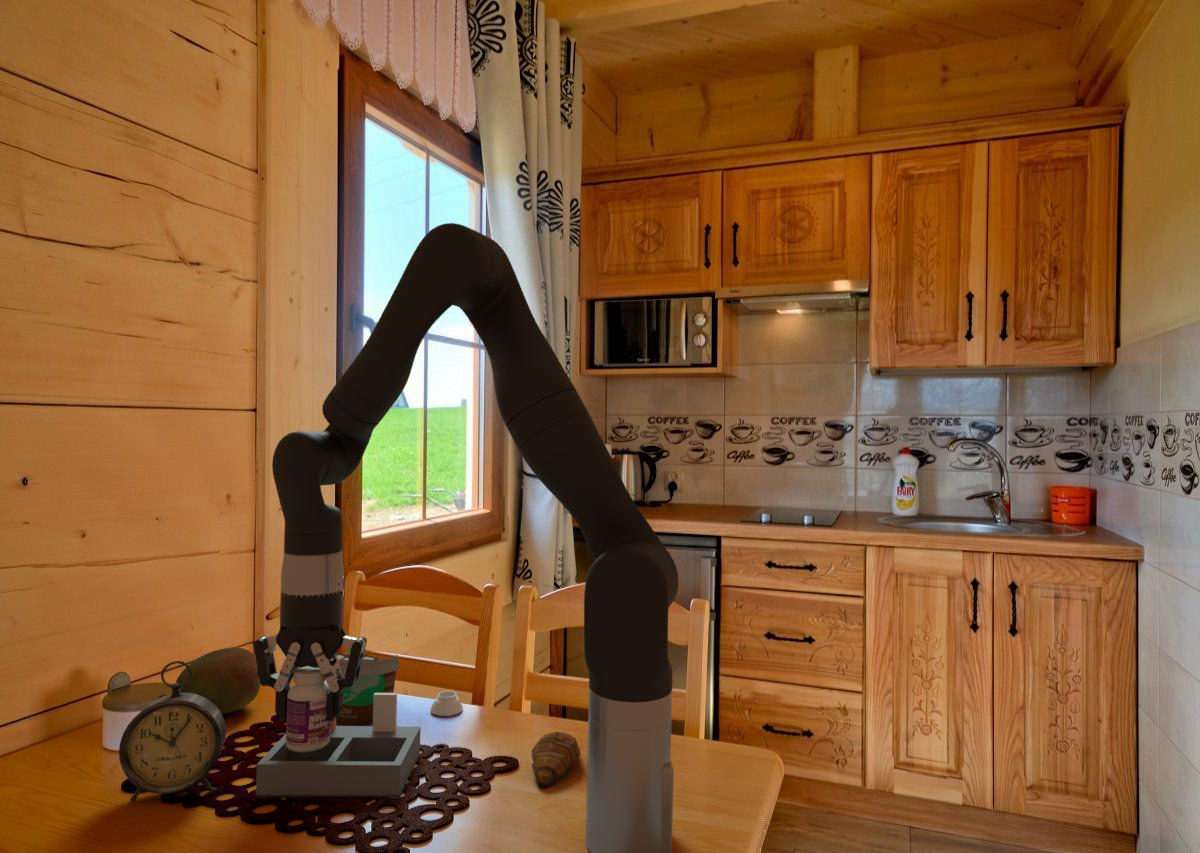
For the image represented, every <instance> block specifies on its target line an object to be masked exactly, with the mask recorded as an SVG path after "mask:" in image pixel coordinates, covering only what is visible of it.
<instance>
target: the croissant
mask: <svg viewBox="0 0 1200 853" xmlns="http://www.w3.org/2000/svg"><path fill="white" fill-rule="evenodd" d="M531 749H532V750H531V758H532V761H533V762H532V763H531V768H532V772H533V774H534V777H535V780H536V783H537V785H538V787H541V788H548V787H551V786H552V785H554V784H556V783H557V782H559V781H560V780H561V779H562V778H563V777H564V776H565V774H566V773H568V772H569V771H570V769H571V768H572V767H573V765H575V763H576V761H577V760H578V759H579V757H580V756H581V750H580V747H579V744H578V742H577V739H576V737H574V736H573V735H571V734H569V733H565V732H561V731H554V732H550V733H547V734H546V733H545V734H542V736H541V737H540V738H539V739H538V741H537V742H536V744H535V745H534V747H533V748H531Z"/></svg>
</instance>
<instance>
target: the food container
mask: <svg viewBox="0 0 1200 853" xmlns="http://www.w3.org/2000/svg"><path fill="white" fill-rule="evenodd" d="M336 655H337V658H338V660H339V663H340V670H341V672H342V675H343V676H345V674H346V670H347V666H348V661H349V657H350V655H348V654H347V653H338V651H337V652H336ZM332 660H333V659H332ZM397 670H401V665H400V660H399V656H398V654H396V655H394V656H391V657H386V658H379V657H377V656H372V655H369V654H364V656H363V660H362V665H361V669H360V673H359V678H358V680H357V681H356V682H355V683H354V684H353V685H352V686H351V687H349V688H347V687H346V688H343V706H342V710H341V712H340V714H339V715H338V716H337V717H336V725H339V726H343V725H344V726H368V725H369V726H373V697H374V694H375V693H395V684H396V683H395V682H396V676H397Z"/></svg>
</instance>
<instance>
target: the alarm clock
mask: <svg viewBox="0 0 1200 853" xmlns="http://www.w3.org/2000/svg"><path fill="white" fill-rule="evenodd" d="M176 664H179V665H180V664H181V665H183V666H185V668H186V667H187V668H188V670H189V677H188V679H187V681H186V682H185V683H183V684H181V685H180V684H179V683H176V682H174V683H172V684H169V683H167V681H166V680H165V676H164V675H165V671H166V670H167V668H169V667H170V666H172V665H176ZM191 675H192V670H191V668H190V666H189V664H188V663H187V662H185V661H183V660H182V661H181V660H174V661H171V662H169V663H167V664H166V665H165V666H164V667H163V668H162V669H161V672H160V678H161V682H162V683H163V684H165V686H167V687H168V688H170V689H171V693H170V694H166V695H163V696H161V697H159V698H157V699H155V700H153V701H152V702H150V703H149V704H148V705H147V706H145V707H144V708H143V709H141V711H140V712H139V713H138V714H137V715H135V717H133V718H132V720H131V721H130V722H129V723H128V725H127V726H126V728H125V729H124V732H123V733H122V736H121V739H120V743H119V748H118V756H119V758H118V759H119V764H120V767H121V769H122V771H123V773H124V775H125V777H126V778H127V779H128V780H129V782H131V783H132V784H133V785H134V786H136V787H137V788H136V790H135V792H134V793H133V795H132V796H130V801H131V802H134V801H135V802H136V800H137V798H138V797H139V795H140V794H142V793H143V791H144V792H145V791H146V792H148V793H153V794H159V795H161V794H162V795H167V794H173V793H175V794H176V793H179V792H182V791H185V790H187V789H190V788H191V787H193V786H195V785H196V784H198V783H199V782H200V783H201V785H202V786H203V787H205V788H206V789H207V790H208V793H210V794H211V793H213V792H214V790H215V788H214V787H213V786H212V785H211V783H210V781H209V779H208V778H207V777H206V776H207V775H208V774H209V773H210V771H211V770H212V769H213V768H214V766H215V764H216V763H217V760H218V759H219V756H220V755H221V753H222V751H223V749H224V746H225V743H226V737H227V727H226V722H225V719H224V716H223V714H221V712H220V710H219V709H218V708H217V707H216V705H215V704H213V703H212V702H211V701H210V700H208V699H206V698H205V697H202V696H200V695H197V694H193V693H180V691H179V688H180V687H181V686H184V685H185V684H187V683H188V682H189V680H190V678H191Z"/></svg>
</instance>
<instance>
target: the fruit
mask: <svg viewBox="0 0 1200 853" xmlns="http://www.w3.org/2000/svg"><path fill="white" fill-rule="evenodd" d="M188 665H189V666H190V668H191V670H192V675H191V678H190V680H189V682H188V683H187V684H185V685H184V686H181V687H180V688H179V689H180V693H193V694H197V695H200V696H202V697H205V698H206V699H208V700H210V701H211V702H212V703H213V704H215V705H216V707H217V708H218V709H219V710H220V712H221V714H222V715H224V714H231V713H233V712H236V711H239V710H241V709H243V708H245V707H246V706H248V705H249V704H250V703H251V702H252V701H254V700H255V698H256V697H257V696H258V694H259V691H260V688H261V686H262V685H261V684H260V679H259V673H258V668H257V662H256V656H255V654H254V653H253V652H251V651H250V650H248V649H246V648H242V647H237V646H236V647H232V646H231V647H224V648H221V649H217V650H213V651H210V652H207V653H205V654H203V655H201V656H200V657H197V658H196V659H194V660H193V661H191V662H189V664H188ZM188 677H189V670H188V668H187V667H186V666H185V668H184V669H182V670H181V672H180V674H179V676H178V677H177V678H176V681H175V683H179V684H180V685H181V684H183V683H185V682H186V681H187V679H188Z"/></svg>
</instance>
